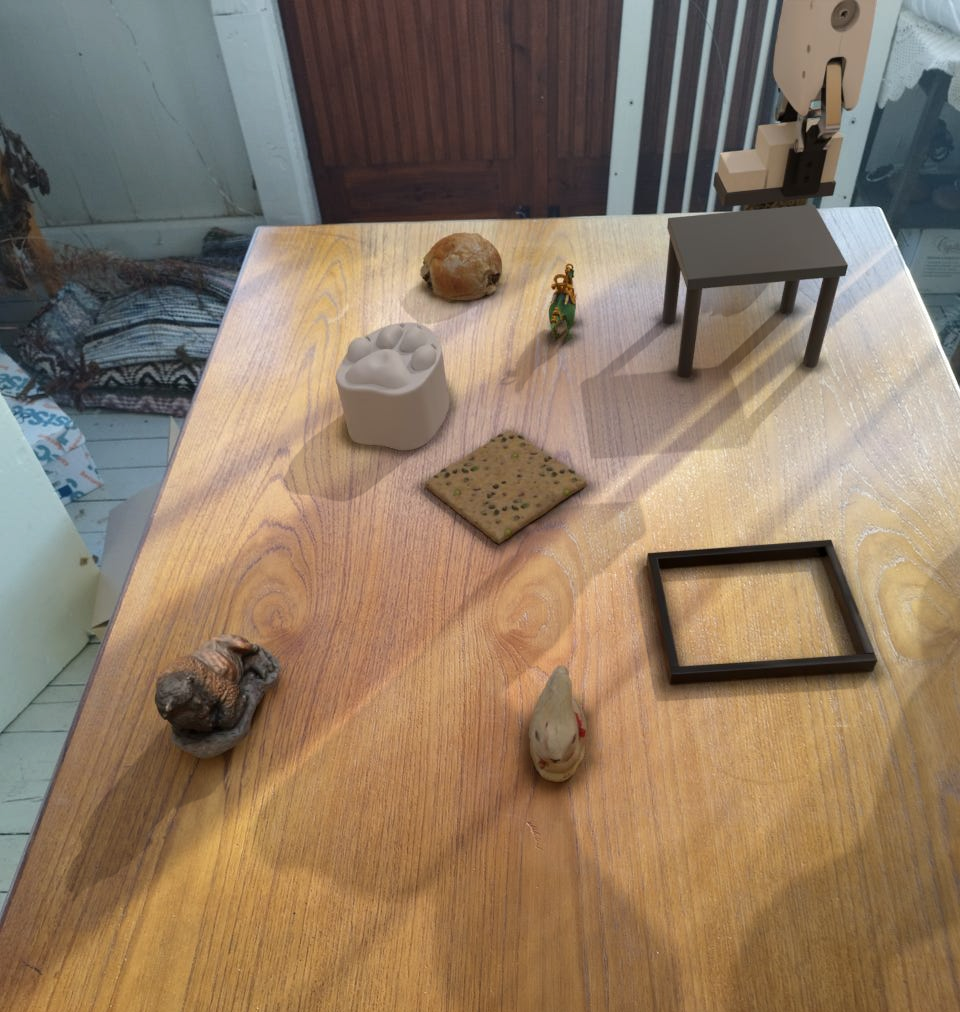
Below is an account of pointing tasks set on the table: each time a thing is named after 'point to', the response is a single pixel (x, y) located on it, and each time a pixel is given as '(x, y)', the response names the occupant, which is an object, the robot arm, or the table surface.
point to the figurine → (563, 302)
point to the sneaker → (768, 167)
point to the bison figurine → (214, 693)
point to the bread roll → (462, 267)
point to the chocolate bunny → (557, 729)
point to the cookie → (504, 485)
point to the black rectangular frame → (769, 668)
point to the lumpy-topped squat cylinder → (394, 387)
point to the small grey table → (751, 265)
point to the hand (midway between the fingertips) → (791, 178)
